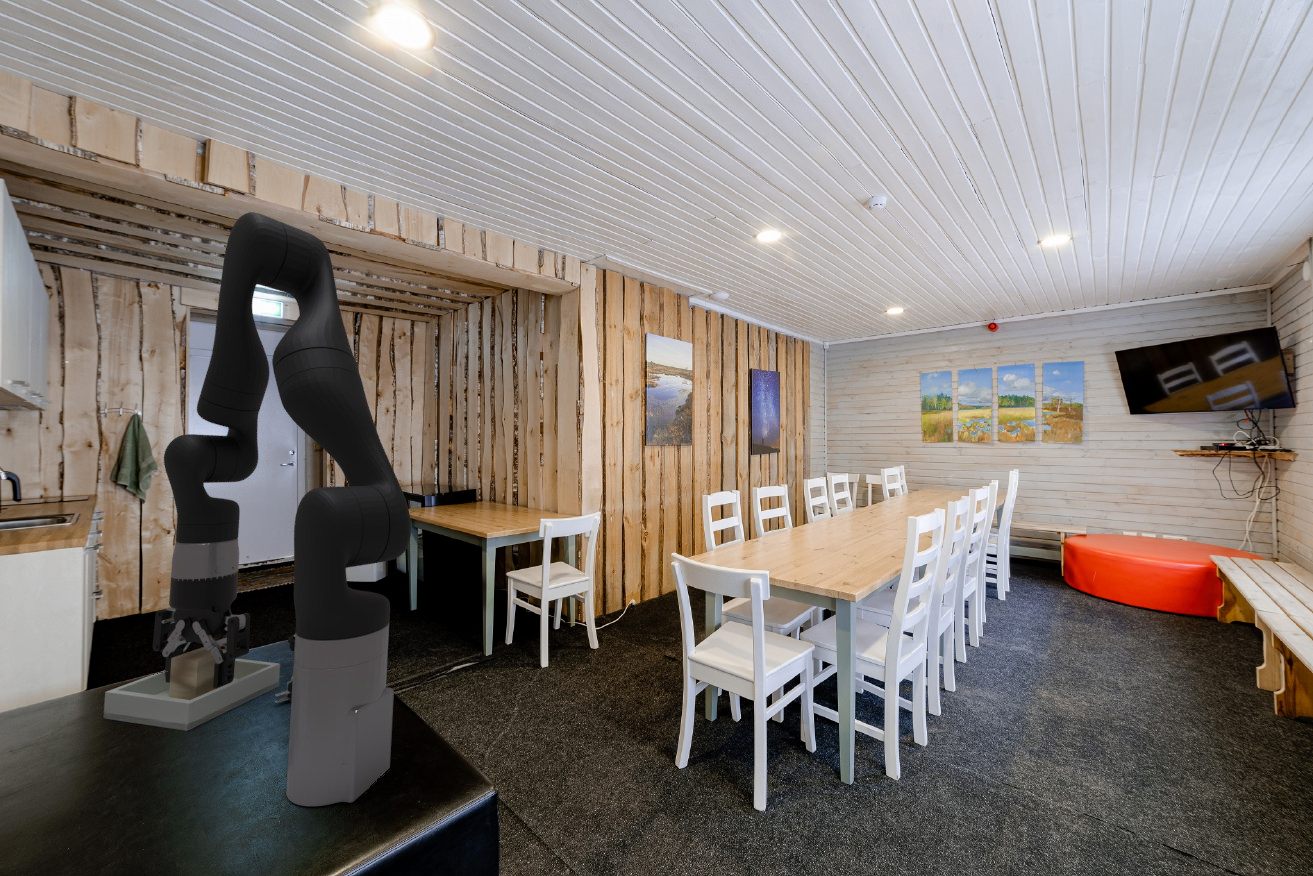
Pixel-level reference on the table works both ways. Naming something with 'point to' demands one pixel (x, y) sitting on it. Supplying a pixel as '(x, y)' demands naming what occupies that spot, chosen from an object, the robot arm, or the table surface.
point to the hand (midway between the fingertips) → (198, 683)
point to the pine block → (192, 674)
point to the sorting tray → (156, 708)
